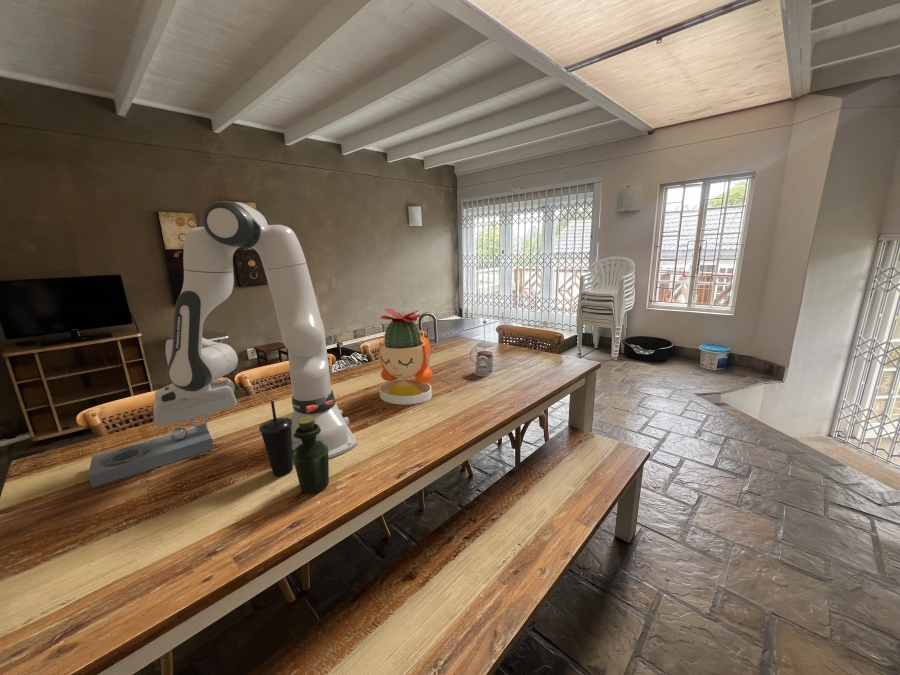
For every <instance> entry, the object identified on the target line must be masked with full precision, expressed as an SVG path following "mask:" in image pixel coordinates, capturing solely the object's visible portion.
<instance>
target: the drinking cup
mask: <svg viewBox="0 0 900 675" xmlns="http://www.w3.org/2000/svg"><path fill="white" fill-rule="evenodd" d="M270 406H271V412H272V418H271V419H269V420H266V421H264V422H263V423H261V424H260V425H259V428H258V430H259V432H260V433H261V436H262V440H263V443H264V447H265V451H266V454H267V458H268V460H269V464H270V468H271V470H272V472H271V473H272V474H273V476H275V477H283V476H287V475H289V474H290V473H291V472H292V471H293V469H294V461H293V457H292V455H293V450H292V432H291V425H292V420H291V419H289V418H290V417H289V418H288V417H277V414H276V408H275V402H274V400H271V401H270Z"/></svg>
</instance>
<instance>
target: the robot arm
mask: <svg viewBox="0 0 900 675" xmlns="http://www.w3.org/2000/svg"><path fill="white" fill-rule="evenodd" d="M202 224H203V226H198V227H194V228H191V229H189V230H188V231H187V232H186V234H185V238H184V242H183V243H184V245H183V252H182V253H183V256H182V259H183V260H182V262H183V283H182V288H181V291H180V294H179V295H178V297H177V299H176V302H175V306H174V307H175V308H174V313H173V314H174V315H173V316H174V317H173V329H172V330H173V331H172V333H173V334H172V336H171V337H169V338H168V339H167V340H166V342H165V356H166V362H167V375H168V376H167V377H168V379H169V380H170V382H171V383H169V384H168V385H166V386H163V387H161V388H160V389H157V390H156V391H155V392H154V400H155V402H154V403H153V419H154V420H153V421H154V424H155V426H156V427H158V428H162V427H163V428H164V427H166V426H170V425H174V424H178V423H181V422H186V421H188V423H189V424H190V425H192V426H193V428H194V427H195V429H196V431H199V430H203V429H208V422H209V420H210V418H211V417H210V415H211V414H215V413H219V412H223V411H226V410H230V409H234V408H236V406H237V404H238V403H237V399H236V396H235V393H234V391H235V388H236V387H235V382H233V381H232V380H228V379H223V380H220V379H221V378H223V376H226V375H228V374H230V373H232V372H233V371H235V370H236V368H238V365H239V356H238V353H237V351H236V350H235V348H233V347H232V346H231V345H230V344H228V343H224V342H216V341H213V340H210V339H207V338H205V337H203V329H204V323H205V320H206V318H207V317H208V315H209V314H210V313H211V312H212V311H214V309H216V307H218V306H219V305H221V304H222V303H224V302H225V301H226V300H228V299H229V297H230V296H231V295H232V293H233V289H234V282H235V277H234V276H235V275H234V261H233V258H234V254H235V252H236V251H237V250H238V249H240V250H242V249H253V250H255V251H256V253H257V254H258V256H259V258H260V260H261V263H262V267H263V270H264V275H265V278H266V280H267V284H268V287H269V290H270V294H271V297H272V300H273V305H274V310H275V314H276V318H277V324H278V327H279V331H280V334H281V338H282V343H283V345H284V347H285V348H286V350H287V355H288V356H287V357H288V365H289V378H290V384H291V390H292V396H291V405H292V409H293V412H292V414H291V415H290V416H289V419H291V420H292V425H291V432H292V451H294V450H295V449H296V448H297V447H298V446H299V445H301V444H302V441H301V439H298V438H296V437H295V431H296V429H297V428H298V427H299V424H298V422H297V421H298V420H299V419H300V418H302V417H305V416H313V417H315V422H314V423H315V424H318V425H319V427H320V429H321V432H320V433H319V434H318V435H316V440H317V441H322V442H324V443H325V444H326V445H327V447H328V460H330V459H331V458H335V457H337V456H339V455H341V454H344V453H347V452H348V451H349V450H351V449H352V448H355V446H357V444H358V441H357V439H356V437H355V436H354V433H352V430H351V429H350V428H349V426H348V425H349V424H350V419H349V417H348V416H345V417H344V416H343V415H342V414H344V413H343V410H342V409H339V407H338V404H337V401H336V399H335V393H334V391H333V389H332V385H331V375H330V374H331V373H330V366H329V359H328V352H327V351H328V350H327V343H326V332H325V326H324V322H323V320H322V317H321V314H320V313H321V312H320V309H319V306H318V301H317V298H316V293H315V290H314V286H313V282H312V279H311V275H310V271H309V268H308V263H307V260H306V257H305V254H304V251H303V247H302V246H301V244H300V241H299V238H298V236H297V234H296V233H295V232H294V230H293V229H292V228H290V227H289V226H286V225H283V224H271V222H270V220H269V219H268V217H267V216H266V215H265V214H264V212H262V211H261V210H260V209H258V208H255V207H252V206H250V205H247V204H245V203H242V202H235V201H231V200H221V201H216V202H213V203H212V204H209V205H208V207H207V208H206V209H205V211H204V212H203V215H202ZM216 380H219V381H216ZM200 417H203V418H204V419H203V421H201V422H198V423H197V422H196V418H200Z"/></svg>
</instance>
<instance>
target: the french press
mask: <svg viewBox="0 0 900 675" xmlns="http://www.w3.org/2000/svg"><path fill="white" fill-rule="evenodd" d="M487 323H488V322H487V320H482V324H484V326H483V327H484V329H483V330H484V333H483V334H484V336H483V338H484V340H481V341H479V342H477V343H475V346H476V347H473V348H472V349H471V350H470V352H469V358H470V361H471V362H473V363H474V364H475V371H473V372H474V375H476V376H478V377H491V376H494V375H495V374H496V372H495V371H494V355H493V352H492V351H490V350H486V348H493V346H494V344H493V343H492V342H491V341H488V340H486V324H487ZM477 347H478V348H482V349H483V348H484V349H483V350H479V351H477V350H478V348H477ZM474 350H475V351H477V352H476V356H475V357H476V361H474V360H473V359H472V356H471V355H472V353H473V351H474Z"/></svg>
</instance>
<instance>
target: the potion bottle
mask: <svg viewBox="0 0 900 675" xmlns="http://www.w3.org/2000/svg"><path fill="white" fill-rule="evenodd" d="M297 422H298V424H299V427H298V428H297V429H296V431H295V437H296V438H298V439H301V441H302V444H301V445H299V446H298V447H297V448H296V449H295V450H293V452H292V457H293V466H294V467H295V472H296V476H297V479H298V483H299V487H300V490H301V491H302V492H303V493H305V494H309V495H311V494H317V493H319V492H322V491H323V490H325V489H326V487H327V486H328V485H329V482H330V477H329V476H330V472H329V470H330V469H329V468H330V465H329V459H328V447H327V445H326V444H325V443H324V442H322V441H317V440H316V435H318V434H319V433H320V432H321V429H320V427H319V425H318V424H315V423H314V422H315V417H313V416H305V417H302V418H300V419H299V420H298V421H297Z"/></svg>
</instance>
